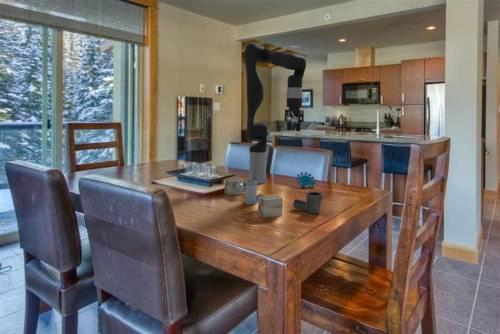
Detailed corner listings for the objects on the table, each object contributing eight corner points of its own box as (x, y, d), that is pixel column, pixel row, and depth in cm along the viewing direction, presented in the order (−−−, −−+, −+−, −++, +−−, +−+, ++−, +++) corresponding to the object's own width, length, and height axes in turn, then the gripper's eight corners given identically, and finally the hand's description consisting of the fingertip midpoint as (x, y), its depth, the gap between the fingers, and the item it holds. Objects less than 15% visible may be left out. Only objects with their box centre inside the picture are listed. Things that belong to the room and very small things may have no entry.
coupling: (243, 202, 155) (243, 180, 154) (254, 201, 158) (254, 179, 156) (248, 205, 151) (248, 182, 149) (259, 204, 153) (259, 181, 151)
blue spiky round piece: (295, 185, 183) (297, 169, 189) (293, 191, 188) (295, 176, 194) (316, 188, 183) (317, 173, 188) (314, 194, 187) (315, 179, 193)
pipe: (298, 207, 148) (298, 188, 147) (325, 213, 141) (326, 193, 139) (290, 210, 144) (290, 191, 142) (318, 216, 136) (319, 196, 135)
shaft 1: (232, 189, 168) (232, 182, 167) (239, 188, 169) (239, 181, 169) (238, 192, 162) (238, 185, 161) (245, 192, 163) (245, 184, 163)
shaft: (255, 202, 145) (255, 194, 144) (263, 201, 146) (263, 193, 145) (263, 207, 138) (263, 198, 138) (271, 206, 140) (271, 197, 139)
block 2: (258, 214, 138) (258, 196, 137) (276, 212, 141) (276, 195, 140) (263, 218, 133) (264, 200, 132) (282, 215, 137) (282, 197, 135)
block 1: (224, 193, 172) (224, 179, 171) (239, 191, 175) (239, 177, 174) (228, 195, 167) (228, 181, 166) (243, 193, 171) (243, 179, 170)
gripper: (280, 97, 177) (279, 130, 180) (295, 96, 164) (294, 131, 167) (293, 97, 180) (292, 129, 183) (309, 97, 168) (307, 131, 170)
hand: (293, 130), depth 175 cm, fingers open, 8 cm apart
